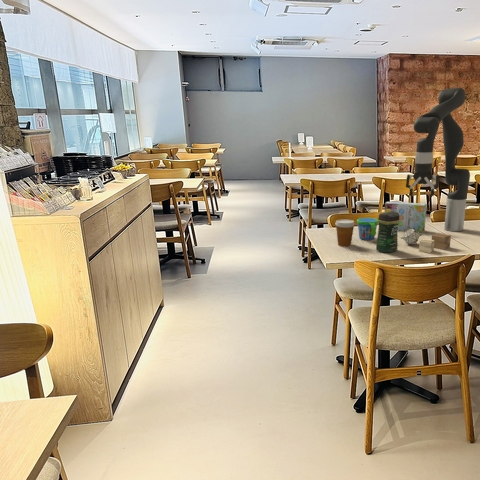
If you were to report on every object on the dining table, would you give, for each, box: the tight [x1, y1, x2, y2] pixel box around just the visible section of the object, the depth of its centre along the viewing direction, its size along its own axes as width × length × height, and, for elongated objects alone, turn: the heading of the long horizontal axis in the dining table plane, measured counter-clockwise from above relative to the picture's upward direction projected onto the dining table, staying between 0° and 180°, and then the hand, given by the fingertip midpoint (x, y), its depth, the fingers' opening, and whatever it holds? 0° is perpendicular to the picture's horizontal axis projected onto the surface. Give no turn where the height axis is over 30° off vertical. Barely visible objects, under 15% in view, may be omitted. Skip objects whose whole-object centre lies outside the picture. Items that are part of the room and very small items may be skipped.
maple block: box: [418, 238, 435, 254], centre depth 201 cm, size 5×5×5 cm
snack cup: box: [356, 217, 379, 241], centre depth 225 cm, size 16×10×10 cm
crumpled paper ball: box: [400, 228, 422, 247], centre depth 212 cm, size 9×8×10 cm
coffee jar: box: [375, 211, 399, 254], centre depth 202 cm, size 10×8×19 cm
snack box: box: [383, 201, 428, 233], centre depth 240 cm, size 21×6×15 cm, turn 58°
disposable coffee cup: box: [334, 218, 356, 247], centre depth 215 cm, size 10×10×12 cm
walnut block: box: [431, 232, 452, 251], centre depth 206 cm, size 6×6×6 cm
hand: (421, 196), depth 204 cm, fingers open, 8 cm apart
